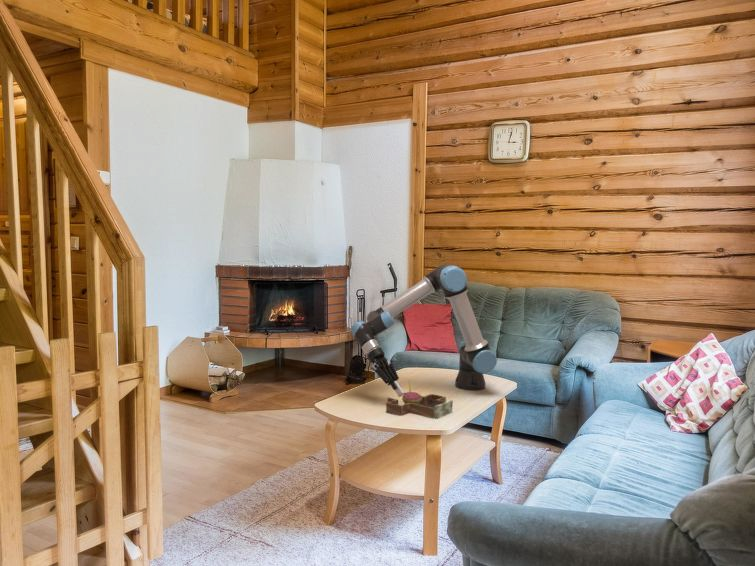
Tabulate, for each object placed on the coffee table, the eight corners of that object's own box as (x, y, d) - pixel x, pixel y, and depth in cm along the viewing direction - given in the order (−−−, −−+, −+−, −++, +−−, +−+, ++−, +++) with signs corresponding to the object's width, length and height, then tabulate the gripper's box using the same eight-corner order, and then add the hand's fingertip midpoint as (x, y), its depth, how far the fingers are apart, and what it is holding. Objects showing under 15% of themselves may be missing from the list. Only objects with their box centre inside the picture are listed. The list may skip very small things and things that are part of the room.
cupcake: (397, 407, 259) (398, 380, 258) (411, 404, 265) (412, 377, 264) (412, 412, 253) (413, 384, 252) (425, 408, 259) (426, 381, 258)
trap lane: (412, 398, 275) (413, 387, 275) (460, 409, 260) (460, 397, 260) (378, 410, 255) (378, 398, 255) (426, 422, 239) (427, 410, 239)
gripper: (377, 354, 278) (405, 396, 268) (359, 358, 267) (387, 402, 258) (387, 345, 274) (415, 387, 265) (369, 348, 264) (397, 392, 255)
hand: (401, 394), depth 262 cm, fingers closed
